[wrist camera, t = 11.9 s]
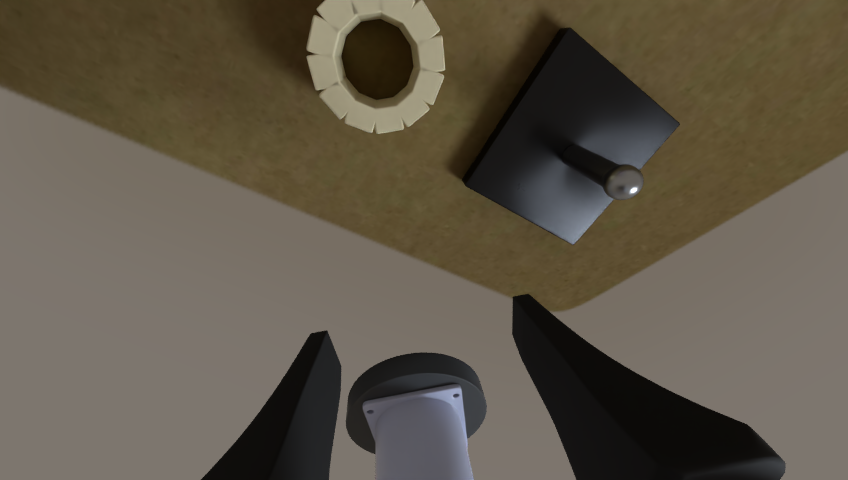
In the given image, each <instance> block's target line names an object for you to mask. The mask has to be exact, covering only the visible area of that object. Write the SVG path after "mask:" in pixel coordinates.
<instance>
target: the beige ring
mask: <svg viewBox="0 0 848 480" xmlns="http://www.w3.org/2000/svg"><path fill="white" fill-rule="evenodd" d="M414 3H415V0H324V1H323V2H322V3H321V4H320V5H319V6H318V7H317V11H318V13H319V14H320V15H321V16H322V18H321V17H319V16H317V15H314V16H313V18H312V23H311V28H310V33H309V37H308V42H307V47H306V49H307V51H309V52H311V53H313V54H314V55H307V56H306V58H307V62H308V65H309V69H310V73H311V76H312V80H313V83H314V87H315V90H323V89H324V90H323V91H322V92H321V93H320V94H319V97H320V98H321V99H322V100H323V101H324V103H325V104H326V105H327V106H328V107H329V108H330V109H331V110H332V112H333V113H334V114H335V115H336V116H337V117H338V118H339V119H342V118H343V117H344V116H345V115H346V117H345V121H344V123H345V124H348V125H350V126H353V127H356V128H358V129H361V130H363V131H366V132H369V133H372V132H373V129H374V126H375V131H376V133H377V134H380V133H386V132H392V131H398V130H403V128H404V126H403V122H404V124H405V125H406V126H407V127H409V126H411V125H412V124H413V123H414V122H415V121H417V120H418V119H419V118H420V117H421V116H423V115H424V114H425V113H426V112H427V111H429V107H428V105H427V104H426V103H428V104H431V105H433V104H434V101H435V99H436V96H437V94H438V91H439V89H440V86H441V84H442V81H443V79H444V75H442V74H440V73H438V72H439V71H444V70H445V61H444V49H443V37H442V36H435V35H436V34H437V33H438V32H439V31H440V28H439V26H438V25H437V23H436V21H435V20H434V18H433V16H432V15H431V13H430V12H429V10H428V8H427V7H426V5H425V3H424V2H423V0H419V1H418V2H417V3H416V4H415V5H414ZM376 19H382V20H384V21H386V22H388V23H390V24H392V25H394V26H396V27H398V28H399V29H400V30H401V32H402V33H403V35H404V36H405V38H406V39H407V41H408V42H409V44H410V45H411V51H412V59H413V66H414V67H413V70H412V72H411V75H410V78H409V81H408V84H407V86H406V87H404V88H403V89H402V90H401V91H400V92H399V93H398V94H396V95H395V96H394V97H392V98H385V99H379V100H375V99H373V98H370V97H368V96H365V95H363V94H361V93H359V92H358V91H357V90H356V89H355V88H354V86H353V85H352V84H351V83H350V81H349V80H348V79H347V78H346V75H345V70H344V66H343V61H342V57H341V55H342V51H343V47H344V44H345V40H346V36H347V35H348V34H349V33H350V32H351V31H352V30H353V29H354V28H355V27H356V26H357V25H358V24H359V23H360V22H362V21H369V20H376ZM425 102H426V103H425Z"/></svg>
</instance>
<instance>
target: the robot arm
mask: <svg viewBox="0 0 848 480" xmlns="http://www.w3.org/2000/svg"><path fill="white" fill-rule="evenodd" d="M512 334H513V337H514V340H515V343H516V346H517V348H518V351H519V354H520V356H521V359H522V361H523V363H524V365H525V366H526V369H527V371H528V373H529V374H530V377H531V378H532V380H533V382H534V384H535V386H536V388H537V390H538V392H539V394H540V396H541V398H542V400H543V402H544V404H545V406H546V408H547V410H548V411H549V414H550V416H551V418H552V420H553V422H554V424H555V427H556V429H557V432H558V434H559V437H560V439H561V441H562V444H563V446H564V449H565V451H566V454H567V456H568V459H569V462H570V464H571V466H572V469H573V472H574V475H575V477H576V480H780V479H781V477H782V476H783V474H784V473H785V462H784V461H783V460H782V459H781V457H780V456H779V455H778V454H777V453H776V452H775V451H774V450H773V449H772V448H771V447H770V446H769V445H768V444H767V443H766V442H765V441H764V440H763V439H762V438H761V437H760V436H759V435H758V434H757V433H756V432H755V431H754V430H753V429H752V428H751V427H749V426H748V425H747V424H745V423H742V422H740V421H737V420H734V419H732V418H730V417H728V416H725V415H723V414H720V413H718V412H715V411H713V410H711V409H708V408H705V407H703V406H701V405H699V404H697V403H695V402H692V401H690V400H688V399H686V398H684V397H682V396H680V395H677V394H675V393H673V392H671V391H669V390H667V389H665V388H663V387H661V386H659V385H657V384H655V383H654V382H652V381H650V380H648V379H646V378H644V377H642V376H640V375H639V374H637V373H635V372H633V371H632V370H630V369H628V368H626V367H624V366H623V365H622V364H620V363H618V362H617V361H615V360H613V359H612V358H610V357H609V356H607V355H606V354H604V353H603V352H601V351H600V350H598V349H597V348H595V347H594V346H593V345H591V344H590V343H588V342H587V341H586V340H584V339H583V338H581V337H580V336H579V335H577V334H576V333H575V332H574V331H572V330H571V329H570V328H569V327H567V326H566V325H565V324H563V323H562V322H561V321H560V320H558V319H557V318H556V317H555V316H554V315H553V314H551V313H550V312H549V311H548V310H547V309H545V308H544V307H543V306H542V305H541V304H540V303H539V302H537V301H536V300H535V299H534V298H533V297H532V296H530V295H529V294H525V295H520V296H514V297H513V329H512ZM340 391H341V365H340V362H339V359H338V357H337V354H336V352H335V349H334V346H333V344H332V341H331V339H330V337H329V334H328V331H322V332H316V333H311V334H310V336H309V337H308V339H307V340H306V342H305V344H304V345H303V347H302V349H301V350H300V352H299V354H298V355H297V357H296V359H295V360H294V362H293V363H292V365H291V367H290V368H289V370H288V371H287V373H286V374H285V376H284V377H283V379H282V380H281V382H280V384H279V385H278V387H277V388H276V390H275V391H274V392H273V394H272V395H271V397H270V398H269V399H268V401H267V402H266V404H265V405H264V406H263V408H262V409H261V411H260V412H259V413H258V415H257V416H256V417H255V419H254V420H253V421H252V422H251V424H250V425H249V426H248V427H247V429H246V430H245V431H244V432H243V434H242V435H241V436H240V437H239V438H238V440H237V441H236V442H235V443H234V444H233V445H232V447H231V448H230V449H229V450H228V451H227V452H226V453H225V454H224V455H223V457H222V458H221V459H220V460H219V461H218V462H217V463H216V464H215V465H214V467H212V469H211V470H210V471H209V472H208V473H207V474H206V475H205V476H204V477H203V478H202V479H201V480H329V468H330V460H331V452H332V446H333V439H334V433H335V426H336V420H337V413H338V406H339V399H340ZM363 411H364V414H365V416H366V419H367V422H368V424H369V427H370V429H371V432H372V435H373V437H374V440H375V442H376V451H375V455H376V456H375V462H376V463H375V480H474V479H473V474H472V469H471V465H470V460H469V456H468V451H467V447H468V444H467V434H466V425H465V417H464V408H463V399H462V390H461V386H460V385H459V384H451V385H446V386H441V387H435V388H430V389H425V390H420V391H414V392H409V393H404V394H399V395H393V396H388V397H383V398H378V399H372V400H367V401H365V402H364V403H363Z"/></svg>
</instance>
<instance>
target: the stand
mask: <svg viewBox="0 0 848 480" xmlns="http://www.w3.org/2000/svg"><path fill="white" fill-rule="evenodd" d="M679 125H680V123H679V122H678V121H676V120H675V119H674V118H673V117H672V116H671V115H670V114H668V113H667V112H666V111H665V110H664V109H663V108H662V107H660V106H659V105H658V104H657V103H656V102H655V101H654V100H652V99H651V98H650V97H649V96H648V95H647V94H646V93H644V92H643V91H642V90H641V89H640V88H639V87H638V86H636V85H635V84H634V83H633V82H632V81H631V80H630V79H628V78H627V77H626V76H625V75H624V74H623V73H622V72H620V71H619V70H618V69H617V68H616V67H615V66H614V65H612V64H611V63H610V62H609V61H608V60H607V59H606V58H604V57H603V56H602V55H601V54H600V53H599V52H598V51H596V50H595V49H594V48H593V47H592V46H591V45H590V44H588V43H587V42H586V41H585V40H584V39H583V38H582V37H580V36H579V35H578V34H577V33H576V32H575V31H574V30H572V29H571V28H561V29H560V30H559V31H558V33H557V34H556V36H555V37H554V39H553V40H552V42H551V43H550V45H549V47H548V48H547V50H546V51H545V53H544V54H543V56H542V57H541V59H540V60H539V62H538V63H537V65H536V67H535V68H534V70H533V71H532V73H531V74H530V76H529V77H528V79H527V80H526V82H525V83H524V85H523V87H522V88H521V90H520V91H519V93H518V94H517V96H516V97H515V99H514V100H513V102H512V103H511V105H510V107H509V108H508V110H507V111H506V113H505V114H504V116H503V117H502V119H501V120H500V122H499V123H498V125H497V127H496V128H495V130H494V131H493V133H492V134H491V136H490V137H489V139H488V140H487V142H486V143H485V145H484V147H483V148H482V150H481V151H480V153H479V154H478V156H477V157H476V159H475V160H474V162H473V163H472V165H471V167H470V168H469V170H468V171H467V173H466V174H465V176H464V177H463V179H462V181H463V183H464V184H465V186H467V187H468V188H470V189H472V190H474V191H476V192H477V193H479V194H481V195H483V196H485V197H487V198H488V199H490V200H492V201H494V202H496V203H497V204H499V205H501V206H503V207H505V208H507V209H508V210H510V211H512V212H514V213H516V214H517V215H519V216H521V217H523V218H525V219H527V220H528V221H530V222H532V223H534V224H536V225H537V226H539V227H541V228H543V229H545V230H547V231H548V232H550V233H552V234H554V235H556V236H557V237H559V238H561V239H563V240H565V241H567V242H568V243H570V244H572V245H574V244H575V243H576V241H577V240H578V239H579V238H580V237H581V236H582V235H583V234H584V232H585V231H586V230H587V229H588V228H589V227H590V226H591V224H592V223H593V222H594V221H595V220H596V219H597V218H598V217H599V215H600V214H601V213H602V212H603V211H604V210H605V209H606V207H607V206H608V205H609V204H610V203H611V202H612V201H613V200H614V199H616V200H626V199H629V198H632V197H634V196H635V195H636V194H638V193H639V191H640V190H641V188H642V186H643V182H644V180H643V175H642V173H641V171H640V169H641V168H642V167H643V166H644V164H645V163H646V162H647V161H648V160H649V159H650V158H651V157H652V155H653V154H654V153H655V152H656V151H657V150H658V149H659V147H660V146H661V145H662V144H663V143H664V142H665V141H666V140H667V138H668V137H669V136H670V135H671V134H672V133H673V132H674V130H675V129H676V128H677V127H678V126H679Z"/></svg>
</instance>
